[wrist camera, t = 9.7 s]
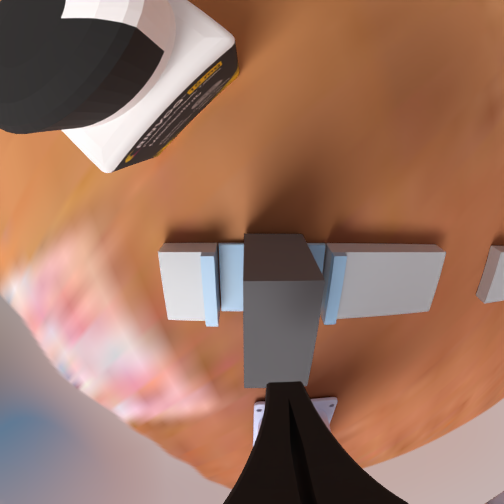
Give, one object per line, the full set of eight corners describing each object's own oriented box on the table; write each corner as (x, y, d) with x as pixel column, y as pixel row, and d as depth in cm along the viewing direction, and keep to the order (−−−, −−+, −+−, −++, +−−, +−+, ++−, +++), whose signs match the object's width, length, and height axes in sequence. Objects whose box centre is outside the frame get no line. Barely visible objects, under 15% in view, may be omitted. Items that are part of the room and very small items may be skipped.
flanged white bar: (496, 292, 21) (508, 303, 19) (172, 307, 21) (166, 324, 19) (511, 245, 19) (524, 254, 17) (164, 243, 19) (155, 256, 17)
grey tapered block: (293, 324, 21) (307, 385, 16) (244, 325, 21) (244, 387, 15) (302, 233, 18) (324, 280, 13) (244, 233, 18) (243, 281, 13)
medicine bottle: (157, 158, 17) (25, 216, 6) (85, 91, 14) (-64, 83, 3) (242, 74, 15) (233, -29, 4) (162, 8, 13) (70, -96, 2)
